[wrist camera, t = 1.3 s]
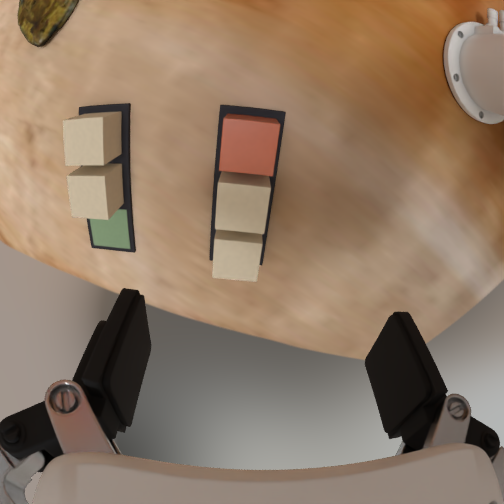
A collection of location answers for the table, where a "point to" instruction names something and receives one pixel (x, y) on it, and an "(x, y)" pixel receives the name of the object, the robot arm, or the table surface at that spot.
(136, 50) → the table surface
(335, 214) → the table surface
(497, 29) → the robot arm
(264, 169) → the rust orange cube
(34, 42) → the seal
